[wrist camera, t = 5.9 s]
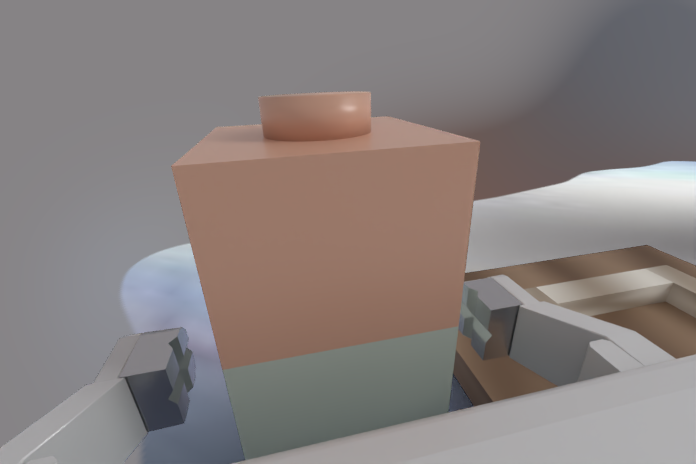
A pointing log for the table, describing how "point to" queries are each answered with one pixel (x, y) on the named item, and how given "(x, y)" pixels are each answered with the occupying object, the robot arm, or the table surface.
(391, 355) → the brick tower
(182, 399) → the robot arm
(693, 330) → the socket board
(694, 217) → the table surface
